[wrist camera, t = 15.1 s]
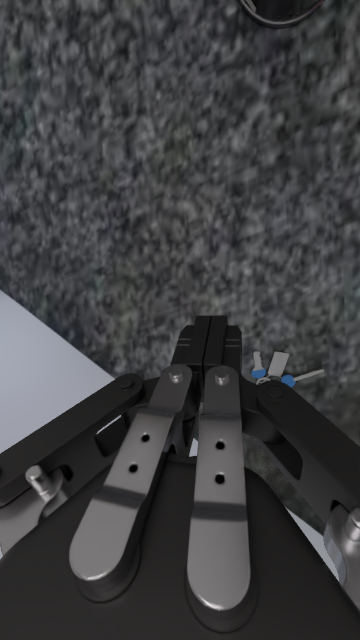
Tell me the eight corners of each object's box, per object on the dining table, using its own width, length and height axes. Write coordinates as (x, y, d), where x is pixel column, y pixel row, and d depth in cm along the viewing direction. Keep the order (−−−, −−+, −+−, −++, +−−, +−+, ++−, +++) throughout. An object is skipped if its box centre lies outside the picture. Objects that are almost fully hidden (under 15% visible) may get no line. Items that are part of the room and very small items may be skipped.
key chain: (241, 412, 47) (241, 415, 46) (208, 376, 45) (208, 380, 44) (323, 369, 42) (325, 372, 41) (291, 327, 40) (292, 330, 39)
